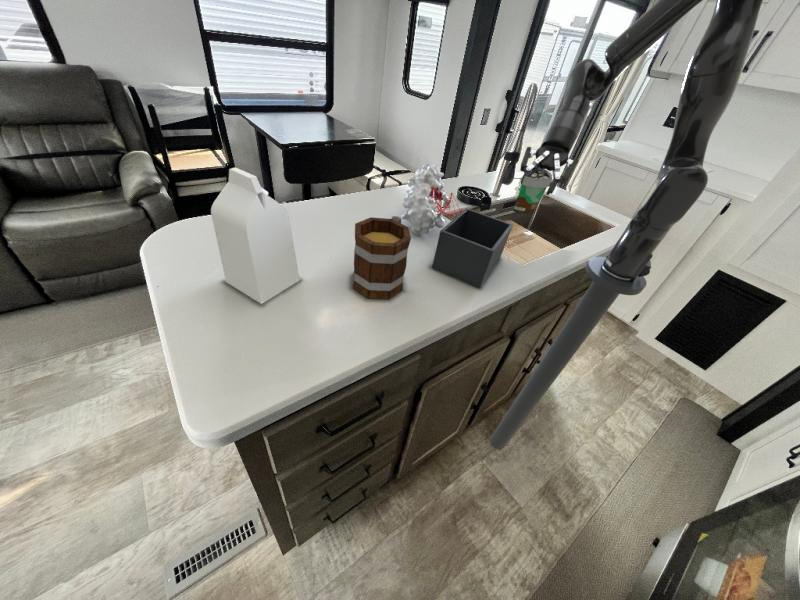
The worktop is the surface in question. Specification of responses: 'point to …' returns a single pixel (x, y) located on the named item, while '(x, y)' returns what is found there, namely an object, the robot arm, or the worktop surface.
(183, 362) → the worktop surface
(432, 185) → the protein dna model
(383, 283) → the mug
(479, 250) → the bin
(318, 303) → the worktop surface
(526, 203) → the food container
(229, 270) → the milk
